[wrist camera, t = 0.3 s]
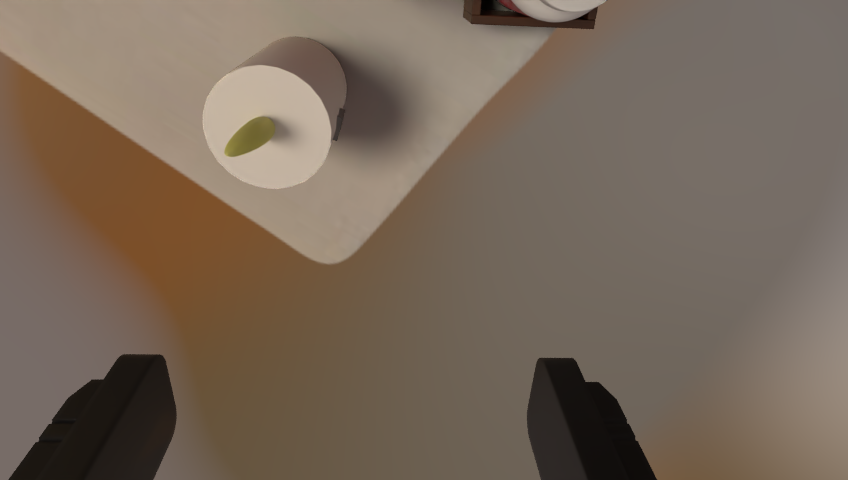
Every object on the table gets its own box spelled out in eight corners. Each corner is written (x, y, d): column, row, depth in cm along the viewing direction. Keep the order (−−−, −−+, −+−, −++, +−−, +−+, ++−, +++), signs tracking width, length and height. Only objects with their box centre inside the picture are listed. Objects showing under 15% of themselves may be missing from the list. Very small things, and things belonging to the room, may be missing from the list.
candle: (339, 142, 38) (311, 241, 25) (245, 118, 37) (163, 208, 24) (359, 53, 35) (340, 109, 22) (259, 24, 34) (174, 65, 21)
